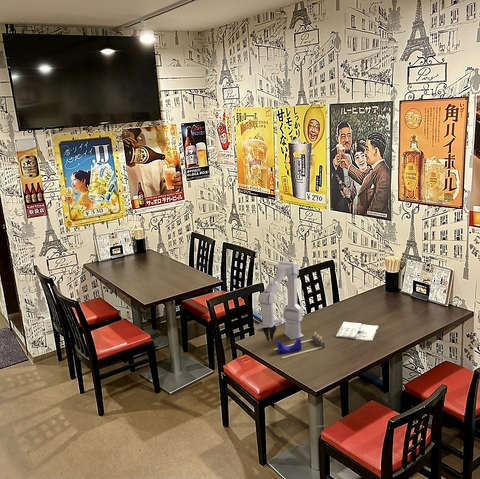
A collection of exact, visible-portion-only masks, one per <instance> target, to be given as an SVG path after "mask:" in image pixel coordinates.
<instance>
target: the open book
mask: <svg viewBox="0 0 480 479" xmlns="http://www.w3.org/2000/svg"><path fill="white" fill-rule="evenodd" d="M379 328H380V327H379V325H371V324H370V325H369V324H362V323H360V322H359V323H358V322H349V321H343V323H342V324H341V326H340V327H339V330H338V331H337V333H336V335H335V337H336V338H343V339H352V340H361V341H368V342H369V341H371V342H373V341H374V337H375V334H376V332H377V331H378V329H379ZM376 330H377V331H376Z"/></svg>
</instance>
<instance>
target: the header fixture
mask: <svg viewBox="0 0 480 479" xmlns="http://www.w3.org/2000/svg"><path fill="white" fill-rule="evenodd" d="M322 338H323V337H322V336H320V335H319V334H317V332H314V333H313V334H312V335H311V339H306V340H303V341H301V345H302V344H305V343H310V342H314V343H315V344H317V345H318V347H314V348H311V349H306V350H304V351H300V352H296V353H292V354H288V355H285V356H281V359H282V360H285V359H288V358H291V357H295V356H298V355H302V354H305V353H310V352H313V351H316V350H320V349H324V348H326V346H325V344H326V343H325V341H324V340H323V339H322ZM294 344H295V343H292V344H288V345H286V346H292V345H294ZM273 351H275V352H276V351H278V347H277V348H274V349H273Z"/></svg>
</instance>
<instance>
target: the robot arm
mask: <svg viewBox="0 0 480 479" xmlns="http://www.w3.org/2000/svg"><path fill="white" fill-rule="evenodd" d="M299 269H300V268H299V264H298V263H297V262H296V261H284V260H280V261H278V263H277V272H276V274H275V275H274V278H273V280H272V281H270V282H268V284H267V286H266V287H265V289H264V290H263V292H261V293H260V294H259V295H258V303H259V306H260V307H261V319H262V321H261V322H260V323H257V324H256V325H254V330H255V331H259V330H262V331H263V332H262V333H263V334H264V335H265V339H266V341H267V342H269V341H270V340H271V341H273V340H274V336H275V332H276V330H277V325H283V320H282V319H274V318H275V317H274V305H273V304H274V303H275V299H276V294H277V292H278V291H279V289H280V284H281V283H282V281H283V279H284V278H285V277H287V304H286V305H285V306H283V313H282V316H283V319H284V320H285V322H284V328H285V329H284V331H285V332H283V333H284V334H285V336H286V337H288V338H289V339H290V340H295V339H296V340H297V338H299V337H300V338H303V337H305V335H304V334H303V333H302V332H301V321H302V320H303V319H304V312H303V308H302V306H301V305H300V304H298V276H299V273H300V271H299Z"/></svg>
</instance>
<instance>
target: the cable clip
mask: <svg viewBox="0 0 480 479" xmlns="http://www.w3.org/2000/svg"><path fill="white" fill-rule="evenodd" d="M276 340H277V342H276V345H277V348H278V350H277V351H278V355H283V354H290V353H291V352H296V351H297V352H298V351H302V344H301V342H302V341H301V340H302V339H301V337H299V338H296V341H295V342H294V343H293V344H294V345H292V346H287V345H284V344H282V342H281V339H276Z"/></svg>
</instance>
